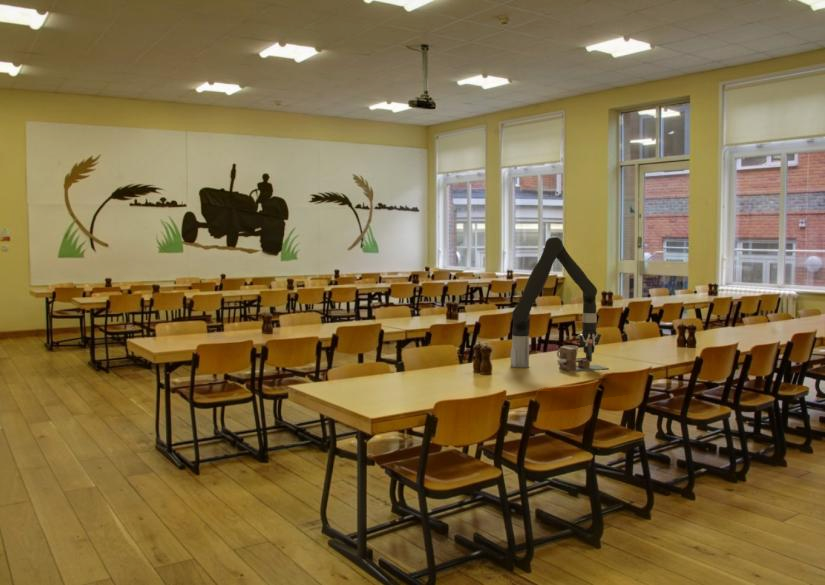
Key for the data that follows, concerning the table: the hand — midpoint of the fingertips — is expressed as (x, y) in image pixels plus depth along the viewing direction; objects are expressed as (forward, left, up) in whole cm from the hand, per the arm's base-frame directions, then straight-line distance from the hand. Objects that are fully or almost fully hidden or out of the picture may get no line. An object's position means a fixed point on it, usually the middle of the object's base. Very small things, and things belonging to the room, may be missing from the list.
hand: (588, 352), depth 392 cm
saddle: (-3, 0, -9) cm, 9 cm away
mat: (-3, 0, -9) cm, 9 cm away
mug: (-3, +18, -9) cm, 20 cm away
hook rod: (-9, 0, -5) cm, 10 cm away
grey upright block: (-13, 0, -9) cm, 16 cm away
